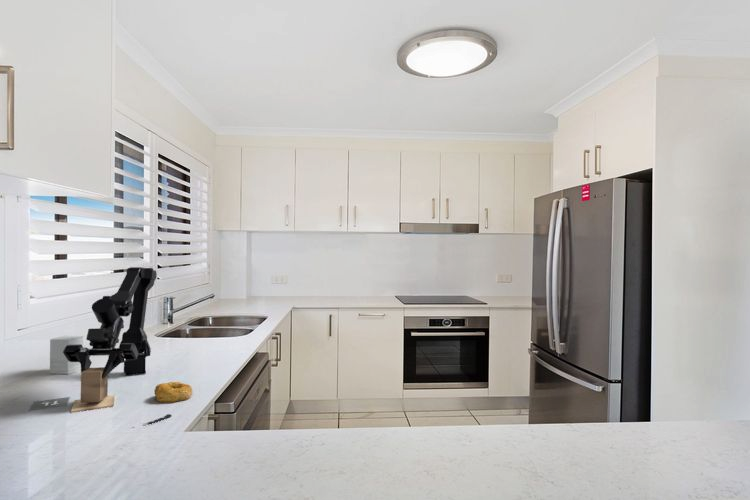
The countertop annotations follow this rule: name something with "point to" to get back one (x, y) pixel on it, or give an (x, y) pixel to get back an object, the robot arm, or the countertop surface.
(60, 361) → the supplement box
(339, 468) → the countertop surface
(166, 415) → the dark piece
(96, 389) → the walnut block
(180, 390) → the bagel
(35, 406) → the gray mat
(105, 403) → the coaster
